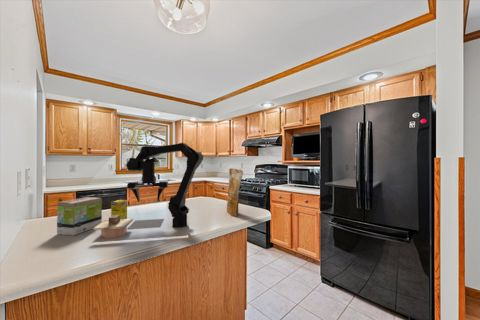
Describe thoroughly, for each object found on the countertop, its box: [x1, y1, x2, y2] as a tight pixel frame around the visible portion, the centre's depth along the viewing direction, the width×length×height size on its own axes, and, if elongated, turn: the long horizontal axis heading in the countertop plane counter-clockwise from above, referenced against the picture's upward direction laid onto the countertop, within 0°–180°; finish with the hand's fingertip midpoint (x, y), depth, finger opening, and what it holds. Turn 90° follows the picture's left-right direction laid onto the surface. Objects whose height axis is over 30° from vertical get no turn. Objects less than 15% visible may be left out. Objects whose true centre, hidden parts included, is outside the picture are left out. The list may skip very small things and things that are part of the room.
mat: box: [127, 218, 165, 230], centre depth 110 cm, size 15×15×1 cm
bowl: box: [100, 226, 128, 239], centre depth 95 cm, size 9×9×5 cm
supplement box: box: [110, 199, 128, 219], centre depth 119 cm, size 6×6×11 cm
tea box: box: [56, 196, 103, 236], centre depth 104 cm, size 15×10×15 cm, turn 168°
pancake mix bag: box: [226, 168, 244, 217], centre depth 135 cm, size 7×19×28 cm, turn 20°
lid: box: [93, 215, 134, 231], centre depth 95 cm, size 12×12×4 cm
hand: (148, 201), depth 109 cm, fingers open, 9 cm apart
